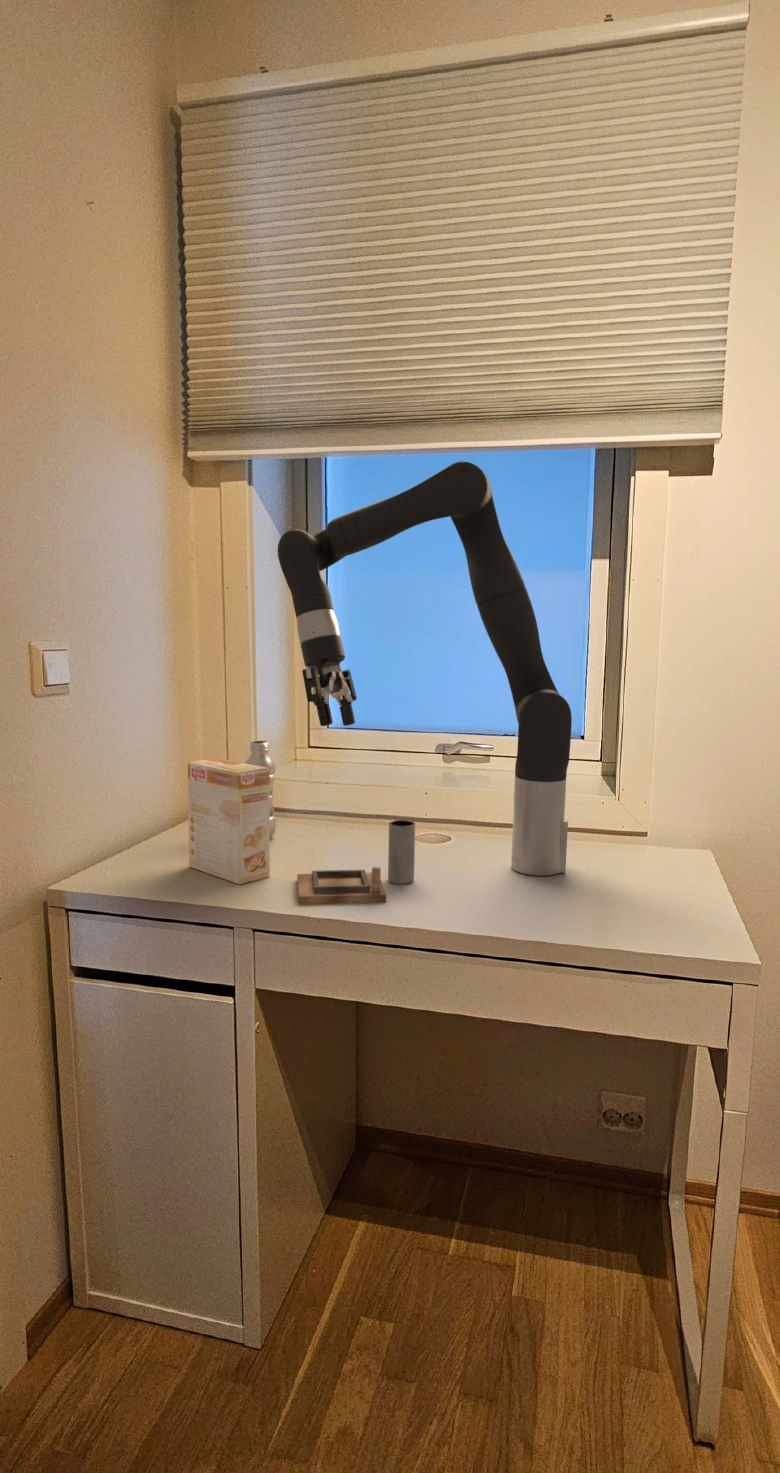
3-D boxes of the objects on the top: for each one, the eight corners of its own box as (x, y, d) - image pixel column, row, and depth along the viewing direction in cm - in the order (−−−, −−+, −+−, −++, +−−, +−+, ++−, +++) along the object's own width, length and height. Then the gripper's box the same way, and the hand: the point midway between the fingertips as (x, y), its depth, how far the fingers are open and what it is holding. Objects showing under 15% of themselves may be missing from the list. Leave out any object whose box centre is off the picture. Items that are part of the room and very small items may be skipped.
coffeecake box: (271, 877, 149) (271, 767, 146) (238, 885, 144) (238, 772, 141) (219, 859, 159) (218, 756, 156) (187, 867, 153) (185, 761, 151)
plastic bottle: (282, 837, 176) (282, 741, 173) (261, 844, 170) (260, 745, 167) (258, 832, 179) (258, 738, 176) (236, 839, 173) (236, 742, 170)
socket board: (377, 879, 149) (378, 850, 148) (386, 901, 137) (386, 870, 136) (297, 880, 147) (297, 851, 146) (298, 903, 135) (299, 872, 134)
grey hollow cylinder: (411, 885, 146) (412, 826, 144) (385, 883, 146) (386, 825, 145) (415, 877, 150) (417, 820, 149) (390, 875, 151) (391, 819, 149)
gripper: (318, 629, 147) (337, 720, 146) (355, 636, 160) (373, 720, 158) (282, 641, 150) (300, 730, 149) (322, 646, 163) (339, 729, 162)
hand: (338, 725), depth 154 cm, fingers open, 8 cm apart
